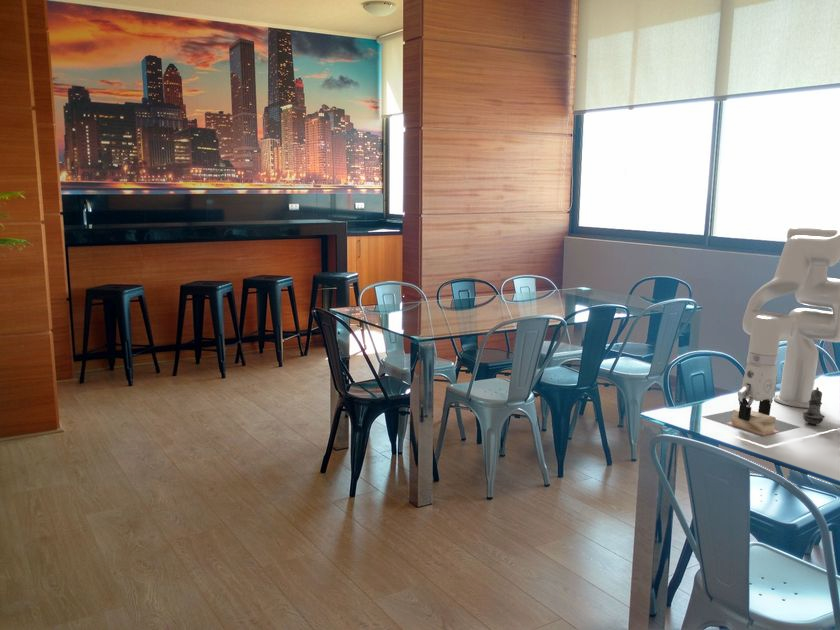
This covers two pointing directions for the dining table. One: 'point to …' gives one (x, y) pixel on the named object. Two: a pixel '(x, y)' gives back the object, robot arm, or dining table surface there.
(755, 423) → the light wood block
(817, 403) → the dark grey tower figurine
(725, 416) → the mat
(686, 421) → the dining table surface
